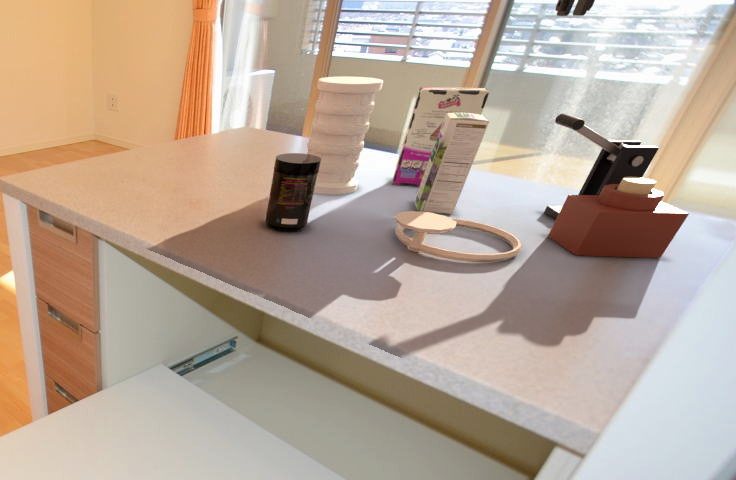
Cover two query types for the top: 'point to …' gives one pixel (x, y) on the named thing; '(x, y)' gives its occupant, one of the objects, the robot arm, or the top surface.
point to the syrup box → (450, 162)
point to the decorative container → (341, 130)
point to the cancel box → (617, 224)
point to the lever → (589, 134)
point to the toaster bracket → (614, 169)
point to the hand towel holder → (440, 223)
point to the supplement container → (292, 191)
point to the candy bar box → (432, 127)
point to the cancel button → (636, 185)
